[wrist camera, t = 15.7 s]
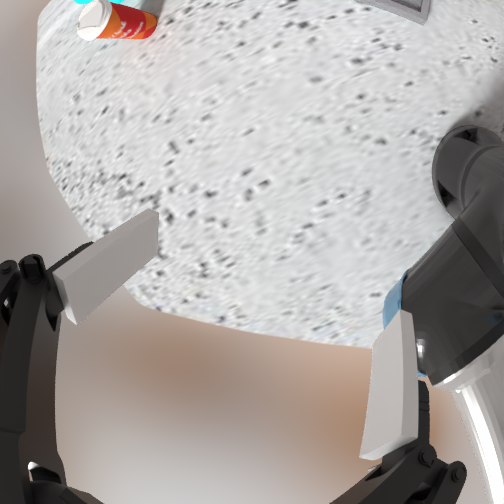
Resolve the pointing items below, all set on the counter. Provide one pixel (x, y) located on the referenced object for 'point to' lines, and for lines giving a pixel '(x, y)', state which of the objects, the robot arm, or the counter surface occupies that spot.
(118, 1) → the donuts
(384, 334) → the robot arm
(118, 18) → the paper cup
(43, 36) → the counter surface
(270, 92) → the counter surface
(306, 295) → the counter surface
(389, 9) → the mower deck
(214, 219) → the counter surface
